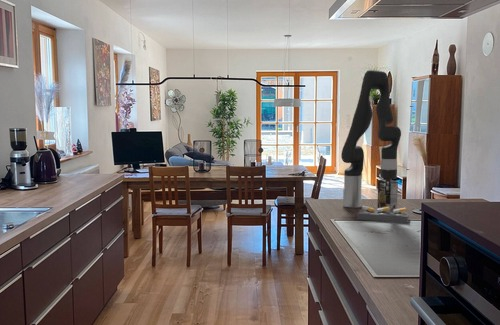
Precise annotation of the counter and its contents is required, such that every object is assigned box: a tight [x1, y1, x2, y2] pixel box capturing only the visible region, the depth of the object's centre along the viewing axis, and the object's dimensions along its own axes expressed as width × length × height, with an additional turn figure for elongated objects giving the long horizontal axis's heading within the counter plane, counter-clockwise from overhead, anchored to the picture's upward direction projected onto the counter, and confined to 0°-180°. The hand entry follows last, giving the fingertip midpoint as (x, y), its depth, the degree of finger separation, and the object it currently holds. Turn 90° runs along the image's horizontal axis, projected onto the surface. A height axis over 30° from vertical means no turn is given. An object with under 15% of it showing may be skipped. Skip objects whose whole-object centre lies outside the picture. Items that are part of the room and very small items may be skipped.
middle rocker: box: [376, 207, 390, 212], centre depth 230 cm, size 6×4×2 cm, turn 69°
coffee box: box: [377, 179, 399, 212], centre depth 247 cm, size 9×6×16 cm
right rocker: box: [393, 207, 407, 213], centre depth 227 cm, size 6×4×2 cm, turn 69°
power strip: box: [356, 209, 410, 224], centre depth 228 cm, size 23×9×3 cm, turn 69°
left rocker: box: [361, 204, 375, 212], centre depth 233 cm, size 6×4×2 cm, turn 69°
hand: (388, 203), depth 229 cm, fingers closed
